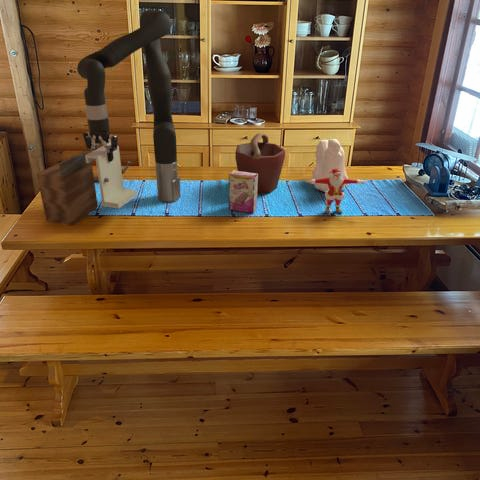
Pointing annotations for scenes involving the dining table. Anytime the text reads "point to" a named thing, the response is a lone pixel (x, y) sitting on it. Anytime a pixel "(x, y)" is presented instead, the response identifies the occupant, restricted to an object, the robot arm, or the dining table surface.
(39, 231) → the dining table surface
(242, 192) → the candy bar box
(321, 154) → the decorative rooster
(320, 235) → the dining table surface
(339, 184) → the santa figurine
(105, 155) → the white angled bracket
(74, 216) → the cabinet
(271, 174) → the bucket
